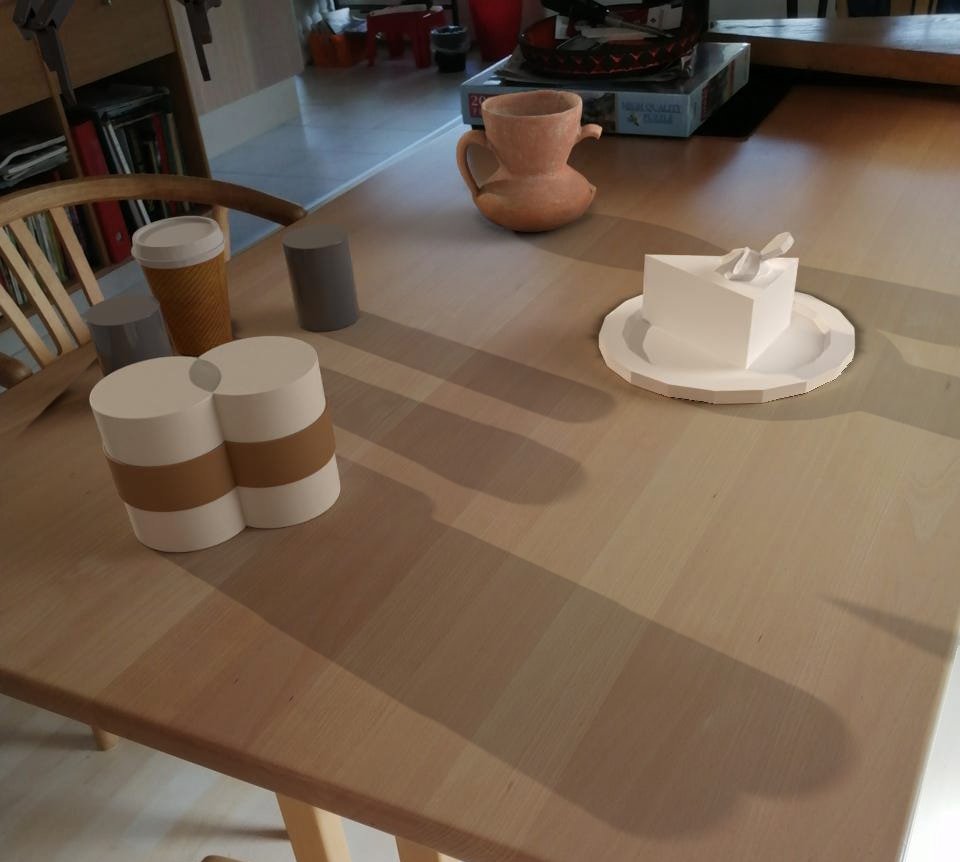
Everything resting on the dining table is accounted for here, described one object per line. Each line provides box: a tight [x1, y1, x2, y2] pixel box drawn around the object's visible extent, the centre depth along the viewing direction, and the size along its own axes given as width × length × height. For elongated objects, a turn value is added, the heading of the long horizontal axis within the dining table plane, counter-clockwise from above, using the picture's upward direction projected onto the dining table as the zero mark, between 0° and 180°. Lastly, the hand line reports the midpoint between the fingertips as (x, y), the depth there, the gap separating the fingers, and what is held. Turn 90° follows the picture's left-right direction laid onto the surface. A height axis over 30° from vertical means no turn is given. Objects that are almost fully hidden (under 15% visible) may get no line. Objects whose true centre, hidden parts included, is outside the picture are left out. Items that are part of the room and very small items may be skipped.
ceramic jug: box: [455, 89, 603, 233], centre depth 129 cm, size 18×14×14 cm
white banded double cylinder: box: [89, 335, 342, 553], centre depth 83 cm, size 17×14×12 cm
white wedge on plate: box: [598, 231, 856, 405], centre depth 100 cm, size 25×25×11 cm
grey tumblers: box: [83, 224, 361, 378], centre depth 106 cm, size 7×30×9 cm, turn 134°
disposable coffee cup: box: [130, 215, 234, 356], centre depth 108 cm, size 10×10×12 cm
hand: (137, 86), depth 103 cm, fingers open, 13 cm apart
